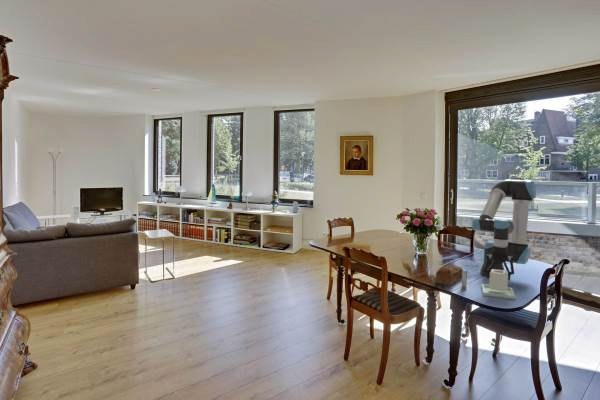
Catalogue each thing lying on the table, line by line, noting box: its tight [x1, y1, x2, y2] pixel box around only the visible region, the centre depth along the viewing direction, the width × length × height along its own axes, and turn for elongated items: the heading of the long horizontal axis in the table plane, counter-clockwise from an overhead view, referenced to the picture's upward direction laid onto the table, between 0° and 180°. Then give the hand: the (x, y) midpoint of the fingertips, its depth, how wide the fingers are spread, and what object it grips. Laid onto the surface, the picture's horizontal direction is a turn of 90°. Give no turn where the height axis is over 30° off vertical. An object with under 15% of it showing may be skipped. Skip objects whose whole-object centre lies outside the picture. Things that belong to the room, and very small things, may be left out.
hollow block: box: [489, 269, 508, 291], centre depth 219 cm, size 8×8×10 cm
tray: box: [481, 283, 516, 301], centre depth 220 cm, size 16×16×2 cm
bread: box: [435, 264, 463, 287], centre depth 242 cm, size 19×11×10 cm, turn 136°
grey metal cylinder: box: [460, 269, 468, 291], centre depth 227 cm, size 4×4×12 cm
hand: (498, 284), depth 220 cm, fingers closed on hollow block, 8 cm apart
